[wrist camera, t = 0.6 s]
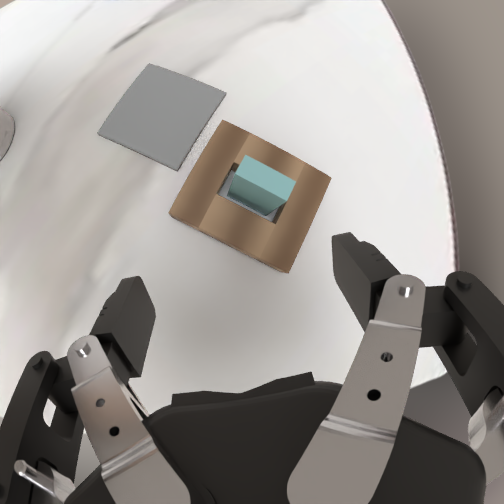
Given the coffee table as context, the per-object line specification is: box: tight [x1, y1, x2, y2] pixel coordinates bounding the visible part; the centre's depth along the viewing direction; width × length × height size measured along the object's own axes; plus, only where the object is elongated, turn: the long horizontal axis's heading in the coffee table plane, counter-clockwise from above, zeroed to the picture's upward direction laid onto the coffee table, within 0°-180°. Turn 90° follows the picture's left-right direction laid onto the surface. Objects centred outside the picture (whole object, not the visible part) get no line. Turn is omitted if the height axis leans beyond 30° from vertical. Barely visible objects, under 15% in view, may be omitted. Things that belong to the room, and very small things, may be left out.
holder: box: [169, 120, 331, 273], centre depth 32 cm, size 14×12×3 cm
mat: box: [97, 63, 226, 171], centre depth 31 cm, size 12×12×1 cm
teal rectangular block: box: [227, 155, 296, 216], centre depth 29 cm, size 5×2×9 cm, turn 63°
